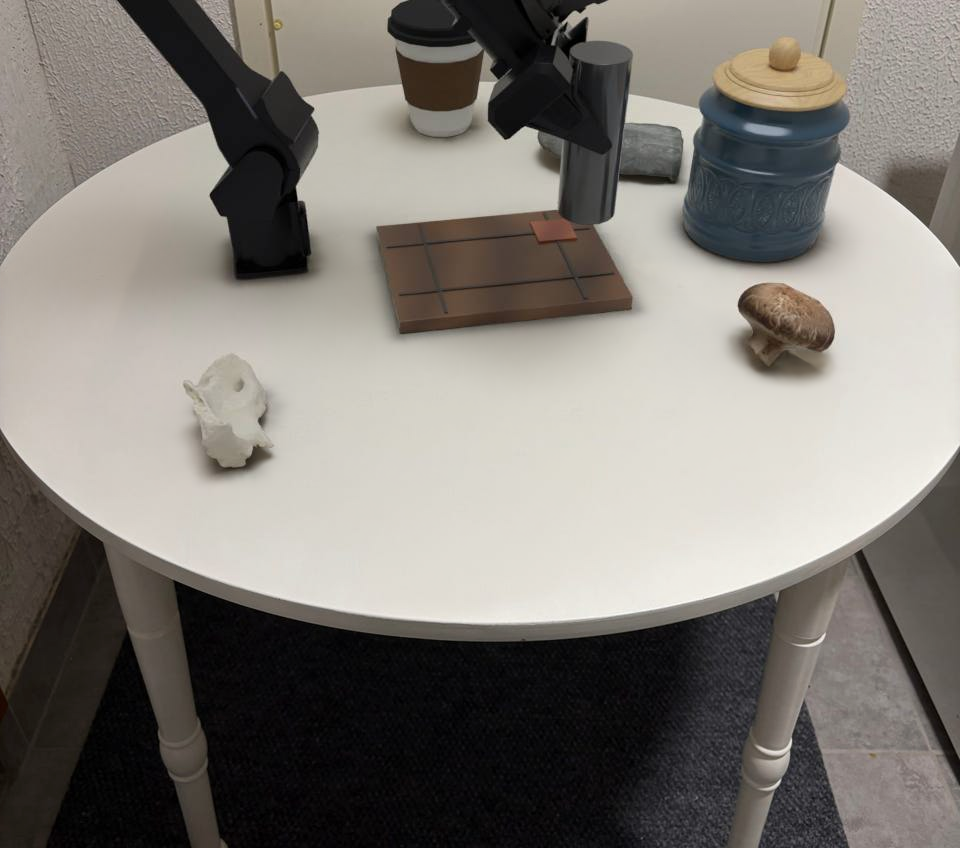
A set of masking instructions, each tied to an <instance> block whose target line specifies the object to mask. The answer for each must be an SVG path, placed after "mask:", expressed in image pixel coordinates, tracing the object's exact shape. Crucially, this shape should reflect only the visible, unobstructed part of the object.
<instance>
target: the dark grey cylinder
mask: <svg viewBox="0 0 960 848" xmlns="http://www.w3.org/2000/svg"><path fill="white" fill-rule="evenodd" d="M578 59H580V74H579V89H580V91H581V93H582V94H583V96H584V97H585V99H586V101H587V102H588V104H589V105H590V107H591V109H592V110H593V112H594V113H595V115H596V117H597V118H598V120H599V121H600V123H601V125H602V126H603V128H604V130H605V131H606V133H607V135H608V137H609V138H610V140H611V142H612V144H613V146H612V149H610V150H609V151H608V152H607V153H605V154H604V155H601V154H598V153H596V152H593V151H591V150H588V149H586V148H583V147H581V146H578V145H576V144H573V143H571V142H568V141H566V140H564V139H563V141H562V154H561V159H560V170H559V183H558V193H557V195H558V196H557V207H556V208H557V209H556V210H558V213H559V214H560V216H561V217H563V218H564V219H566V220H568V221H570V222H573V223H576V224H583V225H601V224H604V223H606V222H608V221H610V220H612V219H613V217H614V216H615V214H616V213H615V212H616V206H617V197H618V187H619V179H620V174H619V172H620V164H621V155H622V147H623V138H624V130H625V123H626V120H627V113H628V112H627V111H628V103H629V94H630V87H631V77H632V69H633V62H634V61H633V60H634V53H633V51H632V49H630V48H629V47H628V46H626V45H623V44H621V43H618V42H614V41H609V40H587V41H586V42H581V43H578V44H576V45H574V46H572V47H571V48H570V51H569V62H570V64H571V65H572V64H573V63H574V62H576V61H577V60H578Z"/></svg>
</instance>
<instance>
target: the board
mask: <svg viewBox="0 0 960 848" xmlns="http://www.w3.org/2000/svg"><path fill="white" fill-rule="evenodd" d="M375 229H376V230H375V231H376V239H377V243H378V247H379V252H380V256H381V260H382V264H383V269H384V272H385V276H386V277H385V278H386V281H387V285H388V289H389V292H390V297H391V301H392V305H393V309H394V313H395V318H396V321H397V326H398V330H399V334H409V333H419V332H429V331H436V330H437V331H438V330H447V329H457V328H466V327H474V326H484V325H492V324H493V325H494V324H502V323H503V324H505V323H512V322H513V323H514V322H521V321H532V320H540V319H541V320H542V319H550V318H560V317H568V316H569V317H570V316H578V315H587V314H597V313H598V314H599V313H606V312H607V313H608V312H616V311H625V310H632V305H633V299H634V297H633V295H632V293H631V291H630V289H629V288H628V285H627V284H626V282H625V280H624V278H623V277H622V274H621V273H620V270H619V269H618V267H617V266H616V264H615V262H614V260H613V258H612V257H611V255H610V253H609V251H608V249H607V247H606V246H605V243H604V242H603V240H602V238H601V236H600V235H599V233H598V231H597V229H596V227H595V226H594V225H583V224H576V223H573V222H570V221H568V220H566V219H564V218H563V217H561V216H560V214H559V213H558V210H557V209H551V210H540V211H529V212H520V213H517V212H515V213H506V214H496V215H485V216H473V217H464V218H463V217H462V218H452V219H441V220H440V219H439V220H430V221H419V222H408V223H397V224H387V225H386V224H385V225H377V226H376V227H375Z"/></svg>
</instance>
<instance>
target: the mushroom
mask: <svg viewBox="0 0 960 848" xmlns="http://www.w3.org/2000/svg"><path fill="white" fill-rule="evenodd" d="M737 309H738V310H737V311H738V313H739V314H740V315H741V316H742V317H743V319H745V321H746V322H747V323H748V324H749V326H750V328H751V330H752V334H751V335H750V336H749V337H748V339H747V344H748V345H749V347H750V349H751V350H752V352H753V353H754V354H755V355H756V356H757V357H758V359H759V360H761V361H762V363H764V364H765V365H766V366H768V367H771V366H772V364H773V363H774V362H775V361H776V359H777V358H778V357H779V356H780V355H781V354H782V353H783V352H785V351H788V350H803V351H808V352H813V353H823V352H825V351H827V350H828V349H829V348H830V347H831V346H832V344H833V342H834V340H835V335H836V329H835V323H834V320H833V317H832V315H831V313H830V311H829V310H828V309H827V308H826V307H825V306H824V305H823V304H822V302H821V301H819V300H818V299H817V298H814V297H812V296H810V295H808V294H806V293H804V292H802V291H800V290H798V289H796V288H794V287H792V286H790V285H789V284H786V283H784V282H763V283H758V284H754V285H752V286H750V287H748V288H747V289H745V290H744V291H743V292H742V293H741V294H740V296H739V297H738V301H737Z"/></svg>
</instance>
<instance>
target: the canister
mask: <svg viewBox="0 0 960 848" xmlns="http://www.w3.org/2000/svg"><path fill="white" fill-rule="evenodd" d="M713 71H714V72H713V75H712V82H713V85H711V86H710V87H708V88H707V89H706V90H705V91H704V92H703V93H702V94H701V96H700V97H699V100H698V109H699V111H700V113H701V115H702V120H701V124H700V126H699V127H698V128H697V129H696V131H695V132H694V135H693V138H692V144H693V153H692V158H691V159H692V160H691V165H690V171H689V179H688V185H687V191H686V193H685V195H684V198H683V205H682V215H683V227H684V230H685V233H687V235H688V236H689V238H690V239H692V240H693V241H694V242H695V243H696V244H697V245H699V246H700V247H702V248H703V249H706V250H707V251H710V252H712V253H714V254H716V255H718V256H722V257H725V258H730V259H732V260H733V259H734V260H738V261H745V262H753V263H754V262H757V263H767V262H768V263H770V262H779V261H784V260H789V259H793V258H795V257H798V256H800V255H803V254H804V253H806V252H807V251H809V250H810V249H811V248H812V247H813V246H814V245H815V242H816V240H817V238H818V237H817V236H819V235H820V232H821V231H822V228H823V224H824V221H825V218H826V217H825V216H826V211H825V210H826V205H827V202H828V197H829V194H830V190H831V186H832V182H833V177H834V174H835V171H836V166H837V164H838V163H839V161H840V159H841V155H842V150H841V146H840V143H839V140H840V139H839V137H840V134H841V133H842V132H843V131H844V130H845V129H847V126H848V125H849V123H850V120H851V111H850V109H849V106H848V105H847V104H846V103H845V101H843V100H842V99H843V98H844V97H845V96H846V94H847V90H848V84H847V81H846V80H845V79H844V77H843V76H842V75H841V74H839V72H837V71H836V70H835V69H834V68H833V67H832V66H831V65H830V64H829V62H827V61H826V60H824V59H823V58H821V57H819V56H816V55H814V54H811V53H808V52H805V51H802V48H801V45H800V43H799V41H798V40H796V39H795V38H793V37H791V36H783V37H779V38H778V39H776V40H775V41H774V42H773V43H772V44H771V47H764V48H763V47H762V48H756V49H749V50H747V51H744V52H741V53H739V54H737V55H736V56H735V57H734V58H731V59H728V60H727V61H725V62H723V63H721V64H719V65H718V66H717V67H716V68H715V70H713Z"/></svg>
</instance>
